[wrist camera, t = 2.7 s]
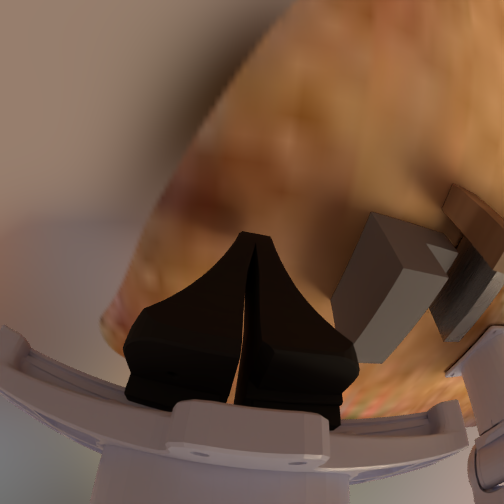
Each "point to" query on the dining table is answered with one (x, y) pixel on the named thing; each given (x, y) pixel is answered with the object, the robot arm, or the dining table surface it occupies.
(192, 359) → the robot arm
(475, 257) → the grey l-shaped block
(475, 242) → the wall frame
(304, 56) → the dining table surface
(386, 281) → the block
